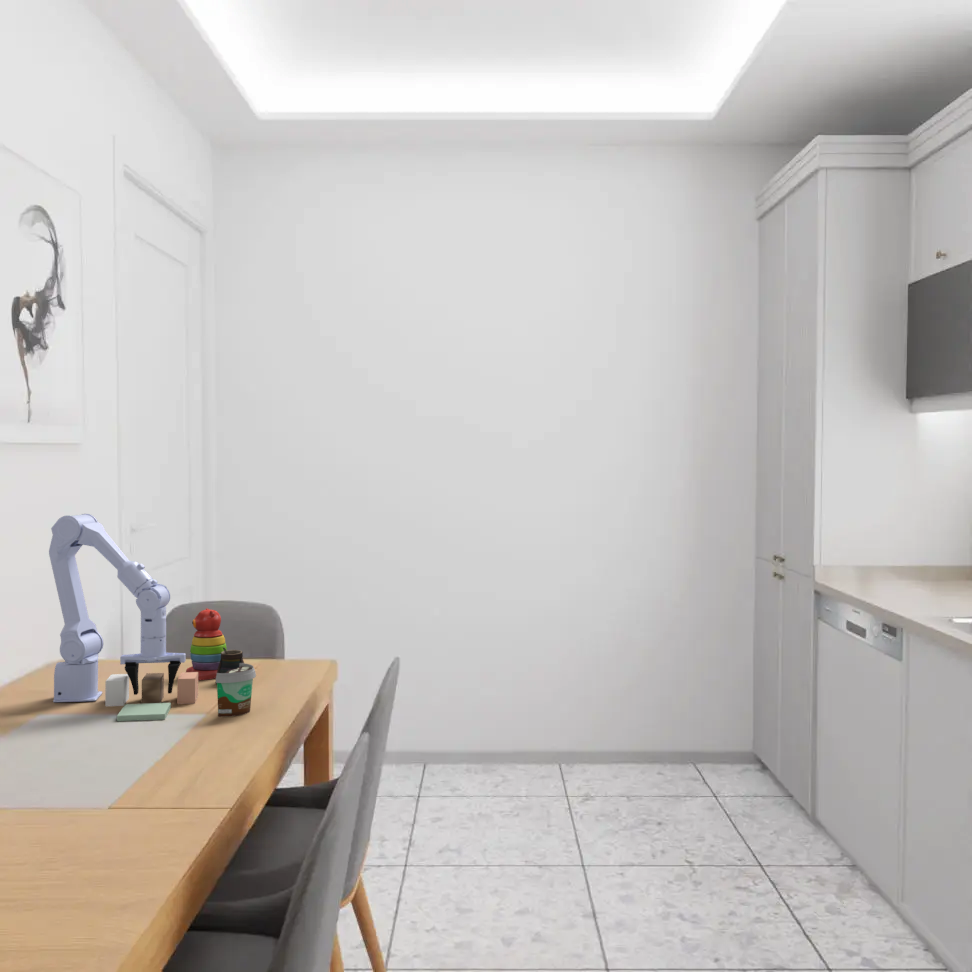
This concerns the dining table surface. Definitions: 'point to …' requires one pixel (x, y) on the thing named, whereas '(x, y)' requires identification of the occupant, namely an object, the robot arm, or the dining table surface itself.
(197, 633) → the stacking bear
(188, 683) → the terracotta brick
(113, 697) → the pale grey brick
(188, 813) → the dining table surface
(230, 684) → the food container
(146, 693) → the walnut brick
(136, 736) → the dining table surface
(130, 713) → the sage green board
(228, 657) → the mate gourd
